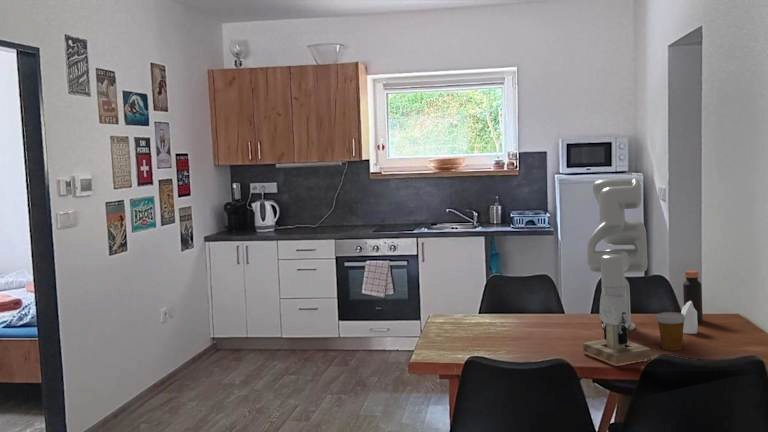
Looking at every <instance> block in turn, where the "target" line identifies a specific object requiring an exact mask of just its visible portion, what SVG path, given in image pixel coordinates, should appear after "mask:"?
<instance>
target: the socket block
mask: <svg viewBox="0 0 768 432" xmlns="http://www.w3.org/2000/svg"><path fill="white" fill-rule="evenodd" d="M582 347H583V350H582V351H583V352H584V351H585V352H588V353H590V354H593V355H596V356H598V357H601V358H603V359H605V360H608V361H610V362H613V363H615V364H619V363H625V362H632V361H639V360H645V359H647V360H648V359H651V360H652V355H651V354H652V353H651V352H652V350H651V348H650V347H647V346H645V345H641V344H639V343H636V342H632V341H629V340H627V344H625V348H622V349H617V350H612V349H610V348H607V345H606V340H605V339H598V340H592V341H588V342H583V343H582Z"/></svg>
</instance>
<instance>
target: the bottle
mask: <svg viewBox="0 0 768 432" xmlns="http://www.w3.org/2000/svg"><path fill="white" fill-rule="evenodd" d="M699 275H700V274H699V271H698V270H691V269H690V270H686V271H685V272H684V276H685V279H686V280H685V281H684V282H683V283H682V286H683V287H682V290H683V306H684V305H685V304H686V303H687V302H688V301H692V303H693V307H694V308H695V310H696V311H697V322H698V323H702V322H703V319H704V317H703V294H702V293H703V292H702V291H703V290H702V283H701V281H699V280H698V279H699Z"/></svg>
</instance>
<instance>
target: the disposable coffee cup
mask: <svg viewBox="0 0 768 432" xmlns="http://www.w3.org/2000/svg"><path fill="white" fill-rule="evenodd" d="M655 319H656V321H657V325H658V329H659V336H660V342H661V347H662V349H663V350H665V351H671V352H672V351H674V352H675V351H679V350H682V348H683V347H682V346H683V335H684V333H683V327H684V321H685V317H684V315H683V314H682V313H681V312H677V311H676V312H675V311H674V312H673V311H665V312H659V313H658V314H657V315H656V318H655Z"/></svg>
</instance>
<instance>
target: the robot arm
mask: <svg viewBox="0 0 768 432" xmlns="http://www.w3.org/2000/svg"><path fill="white" fill-rule="evenodd" d="M592 192H593V194H594V197H595V199H596V201H597V203H598V205H599V206H598V207H599V209H598V210H599V225H598V227H596V229H595V230H594V231H593V232H592V233H591V235H590V236H589V238H588V241H587V245H586V246H587V247H586V250H587V251H586V253H587V254H586V255H587V256H586V259H587V260H586V262H587V268H588V270H589V271H590V272H593V273H600V276H601V277H600V279H601V294H600V299H599V300H600V301H599V314H598V318H599V320H600V322H601V328H602V327H603V328H604V329H603V328H602V329H603V338H604V339H605V340H606V323H608V324H613V325H614V326H617V327H618V330H619V333H618V343H619V345H622V344H627V341H628V332H629V331H633V330H634V329H636V324H635V323H633V322H632V320H631V319H632V318H631V295H630V284H629V281H628V280H627V278H626V277H625V273H627V274H630V273H631V274H632V273H633V274H634V273H635V274H637V273H640V274H641V273H644V272H645V271H647V269H648V263H649V262H648V246H647V245H648V244H647V243H648V242H647V231H646V227H645V224H644V223H643V222H642V221H640V220H626V216H625V215H626V214H625V213H626V212H625V210H629V209H631V210H634V209H638V208H640V207H641V204H642V198H643V197H642V184H641V181H640V180H639V179H638V178H636V177H625V178H606V179H600V180H596V181H595V182H594V183H593V185H592ZM601 241H603V242H604V243H605V244H606V245H608V246H615V247H616V246H633V248H610V249H606V250H596V247H597V245H598V244H599V243H600V242H601ZM622 319H623V321H624V323H622V324H621V321H622ZM622 325H624V327H623V328H621V326H622ZM628 330H629V331H628Z"/></svg>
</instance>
